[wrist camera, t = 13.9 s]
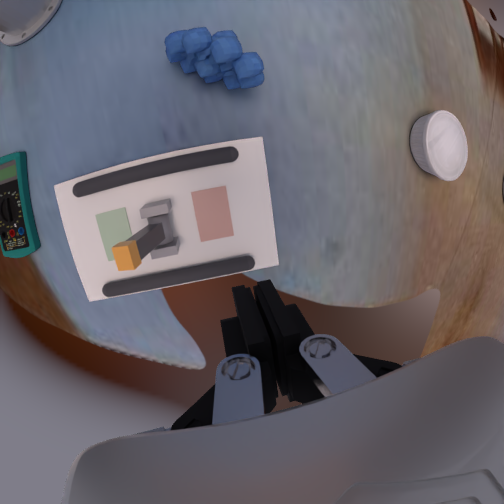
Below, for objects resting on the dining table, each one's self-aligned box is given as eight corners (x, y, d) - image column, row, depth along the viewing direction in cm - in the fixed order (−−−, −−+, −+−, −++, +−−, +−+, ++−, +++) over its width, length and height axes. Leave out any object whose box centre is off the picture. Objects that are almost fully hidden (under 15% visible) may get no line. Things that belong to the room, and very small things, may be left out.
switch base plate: (64, 182, 30) (40, 189, 24) (257, 138, 33) (269, 134, 27) (95, 291, 36) (81, 314, 30) (273, 256, 39) (286, 276, 33)
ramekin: (411, 99, 34) (433, 97, 30) (451, 129, 37) (472, 130, 32) (397, 161, 38) (419, 164, 33) (439, 185, 40) (460, 190, 35)
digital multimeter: (11, 254, 32) (2, 261, 29) (-5, 162, 26) (-16, 164, 24) (44, 249, 33) (34, 256, 30) (27, 149, 27) (17, 150, 25)
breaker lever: (152, 214, 31) (107, 243, 22) (171, 211, 30) (129, 240, 21) (158, 238, 32) (117, 275, 23) (176, 236, 31) (138, 273, 23)
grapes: (267, 68, 30) (298, 34, 19) (242, 110, 32) (263, 89, 20) (187, 32, 26) (184, -15, 15) (160, 73, 28) (142, 37, 17)
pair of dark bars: (74, 183, 28) (68, 185, 26) (236, 145, 30) (238, 144, 29) (107, 294, 33) (103, 300, 32) (254, 265, 36) (257, 271, 34)
